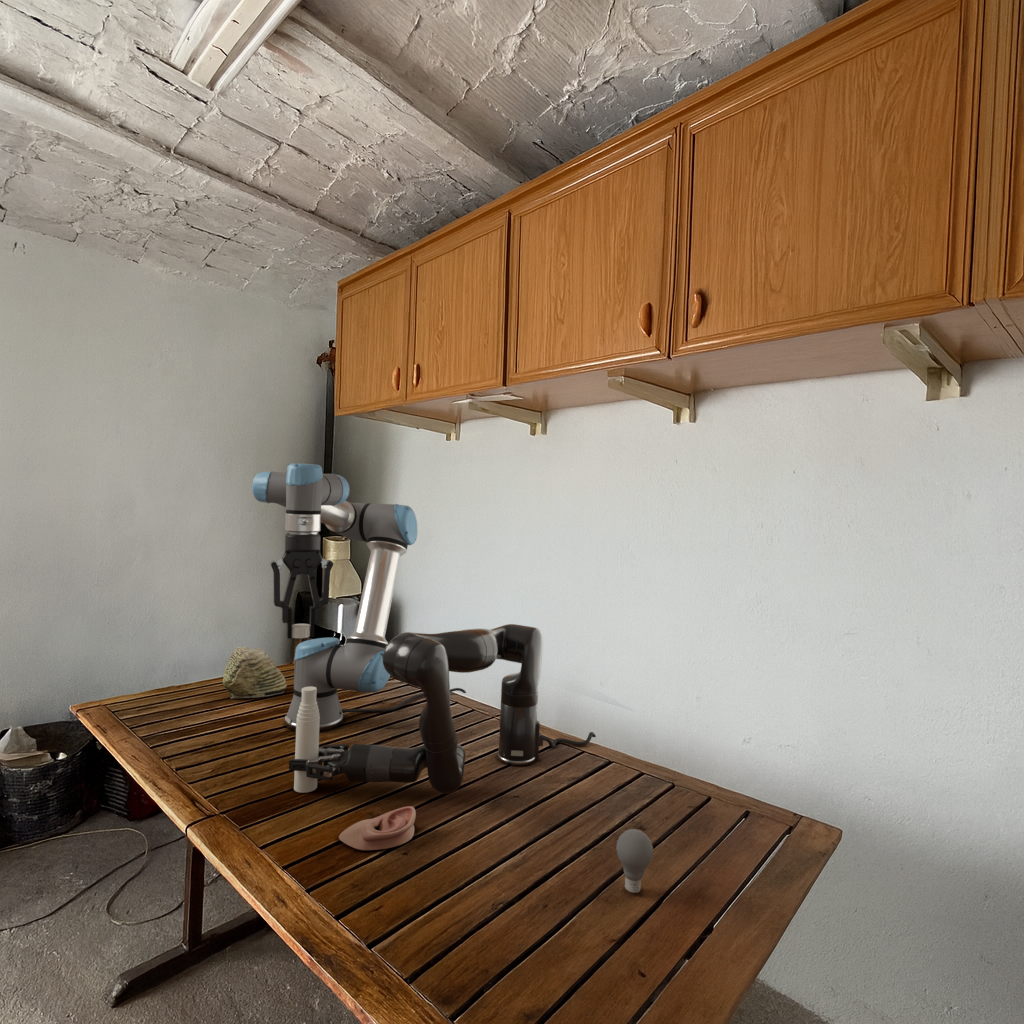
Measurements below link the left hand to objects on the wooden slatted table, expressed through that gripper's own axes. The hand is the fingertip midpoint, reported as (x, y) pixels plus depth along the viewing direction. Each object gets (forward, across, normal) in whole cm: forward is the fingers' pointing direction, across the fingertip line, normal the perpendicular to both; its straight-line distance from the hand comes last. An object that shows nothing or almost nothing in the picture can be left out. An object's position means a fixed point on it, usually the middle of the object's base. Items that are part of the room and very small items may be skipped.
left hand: (300, 636), depth 142 cm
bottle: (+32, +1, -7) cm, 32 cm away
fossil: (+33, -7, +63) cm, 71 cm away
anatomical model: (+31, +12, -32) cm, 46 cm away
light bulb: (+31, +47, -63) cm, 85 cm away
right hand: (+26, -1, -6) cm, 26 cm away
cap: (-2, 0, 0) cm, 2 cm away
